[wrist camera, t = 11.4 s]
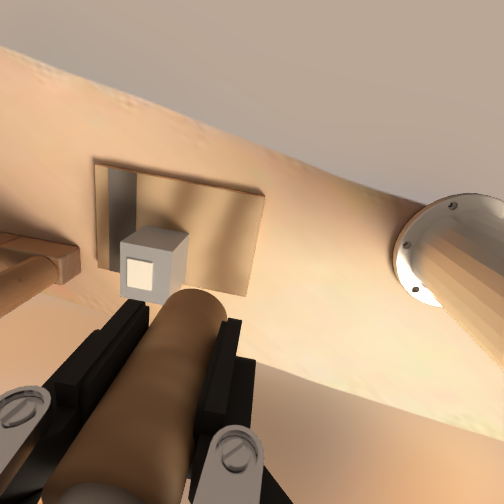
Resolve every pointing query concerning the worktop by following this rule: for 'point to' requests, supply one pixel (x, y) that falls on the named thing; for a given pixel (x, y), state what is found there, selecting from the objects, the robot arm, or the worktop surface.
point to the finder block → (153, 264)
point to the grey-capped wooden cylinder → (145, 414)
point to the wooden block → (32, 268)
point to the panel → (181, 223)
